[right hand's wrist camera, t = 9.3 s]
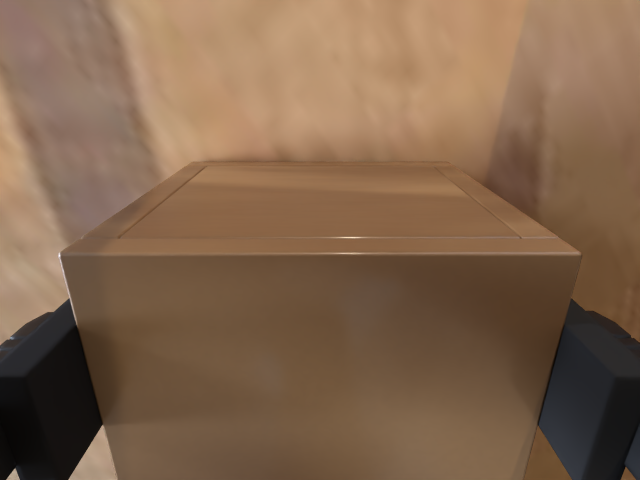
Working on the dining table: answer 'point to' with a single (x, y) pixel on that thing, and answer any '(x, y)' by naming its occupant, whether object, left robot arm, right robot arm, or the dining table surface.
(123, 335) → the cabinet
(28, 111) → the dining table surface
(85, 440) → the right robot arm
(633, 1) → the dining table surface
